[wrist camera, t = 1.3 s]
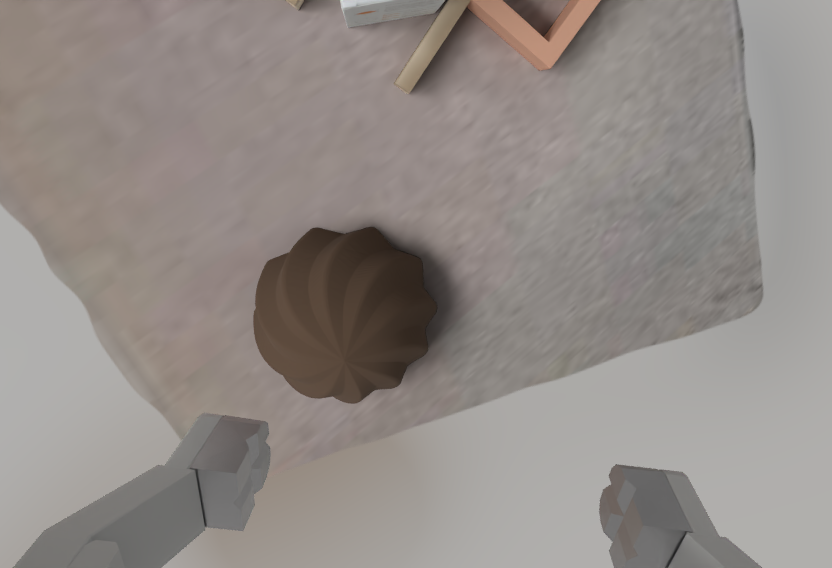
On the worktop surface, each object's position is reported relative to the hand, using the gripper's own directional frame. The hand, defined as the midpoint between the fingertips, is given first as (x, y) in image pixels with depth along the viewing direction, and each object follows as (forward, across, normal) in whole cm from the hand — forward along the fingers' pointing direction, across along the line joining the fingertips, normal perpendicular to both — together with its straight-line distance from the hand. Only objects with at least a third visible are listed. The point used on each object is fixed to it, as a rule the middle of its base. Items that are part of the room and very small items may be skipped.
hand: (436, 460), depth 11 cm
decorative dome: (+37, +9, +19) cm, 42 cm away
